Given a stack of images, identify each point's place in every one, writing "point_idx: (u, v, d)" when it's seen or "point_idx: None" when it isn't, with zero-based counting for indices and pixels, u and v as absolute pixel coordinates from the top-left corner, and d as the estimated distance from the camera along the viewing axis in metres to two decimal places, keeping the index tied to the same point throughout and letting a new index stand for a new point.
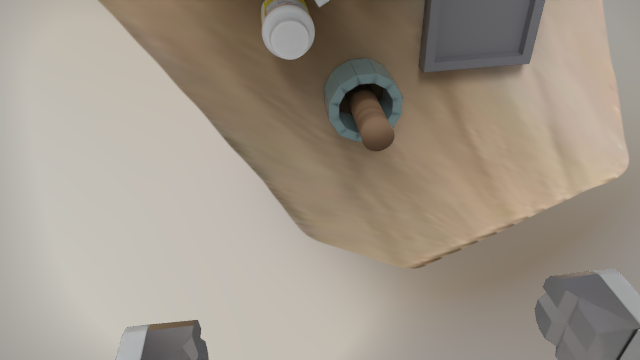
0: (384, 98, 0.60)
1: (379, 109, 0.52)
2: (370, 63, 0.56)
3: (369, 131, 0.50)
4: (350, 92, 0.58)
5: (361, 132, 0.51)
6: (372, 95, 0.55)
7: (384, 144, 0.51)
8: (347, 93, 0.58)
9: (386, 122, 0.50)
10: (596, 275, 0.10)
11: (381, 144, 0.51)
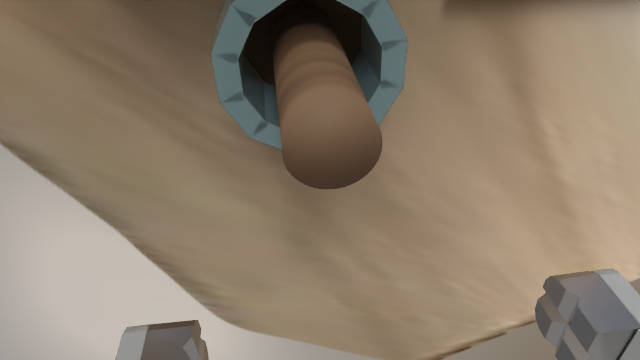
0: (363, 51, 0.26)
1: (340, 66, 0.18)
2: None
3: (300, 130, 0.15)
4: (276, 32, 0.23)
5: (281, 133, 0.16)
6: (328, 34, 0.21)
7: (352, 169, 0.17)
8: (272, 37, 0.24)
9: (357, 101, 0.16)
10: (596, 275, 0.10)
11: (342, 169, 0.17)
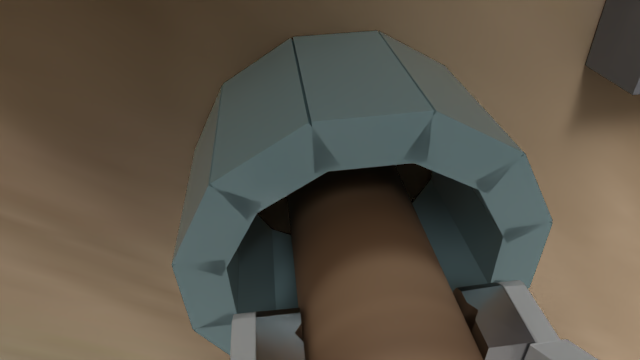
0: (439, 192, 0.15)
1: (458, 354, 0.08)
2: (389, 53, 0.11)
3: None
4: None
5: None
6: (400, 215, 0.11)
7: None
8: None
9: None
10: (500, 287, 0.10)
11: None
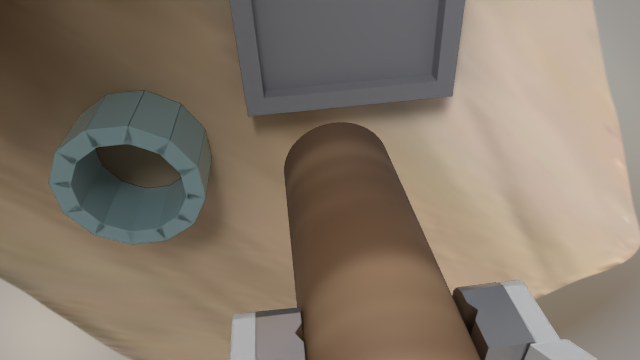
0: None
1: (456, 357, 0.08)
2: (137, 102, 0.29)
3: None
4: (296, 183, 0.13)
5: None
6: (399, 217, 0.11)
7: None
8: (288, 183, 0.14)
9: None
10: (500, 287, 0.10)
11: None
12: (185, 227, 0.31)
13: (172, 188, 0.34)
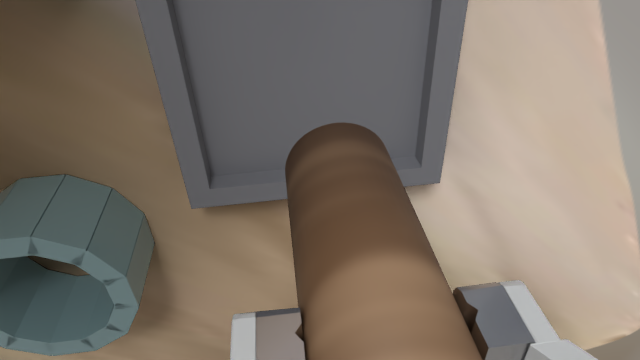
0: None
1: (458, 357, 0.08)
2: (52, 194, 0.23)
3: None
4: (297, 183, 0.13)
5: None
6: (400, 217, 0.11)
7: None
8: (289, 183, 0.14)
9: None
10: (500, 287, 0.10)
11: None
12: (117, 337, 0.26)
13: None
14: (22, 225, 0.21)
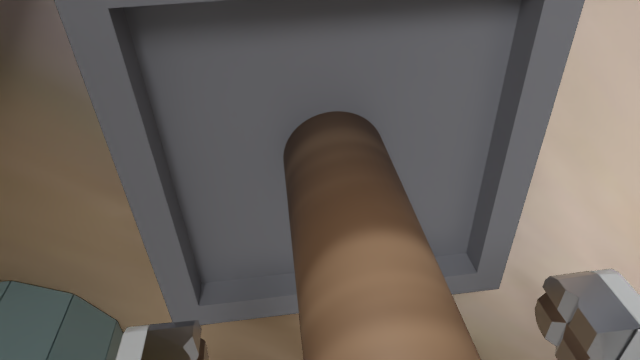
0: None
1: (442, 323, 0.09)
2: None
3: None
4: (295, 169, 0.14)
5: None
6: (392, 198, 0.12)
7: None
8: (287, 169, 0.14)
9: None
10: (596, 275, 0.10)
11: None
12: None
13: None
14: None
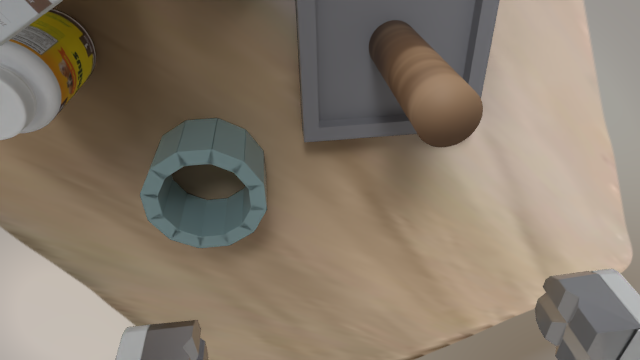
0: None
1: (445, 62, 0.26)
2: (214, 128, 0.35)
3: (430, 102, 0.23)
4: (380, 40, 0.31)
5: (411, 106, 0.24)
6: (425, 42, 0.29)
7: (459, 133, 0.24)
8: (374, 44, 0.32)
9: (467, 84, 0.23)
10: (596, 276, 0.10)
11: (452, 132, 0.24)
12: (246, 234, 0.37)
13: (231, 200, 0.40)
14: (203, 143, 0.33)
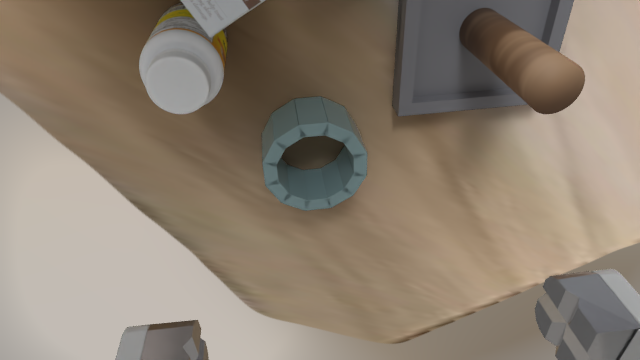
0: (345, 149, 0.44)
1: (546, 44, 0.31)
2: (322, 105, 0.40)
3: (543, 76, 0.28)
4: (474, 26, 0.36)
5: (524, 80, 0.29)
6: (519, 27, 0.34)
7: (563, 102, 0.29)
8: (467, 29, 0.37)
9: None
10: (596, 275, 0.10)
11: (558, 101, 0.29)
12: (346, 198, 0.42)
13: (325, 170, 0.45)
14: (318, 118, 0.38)
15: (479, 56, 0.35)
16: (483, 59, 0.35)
